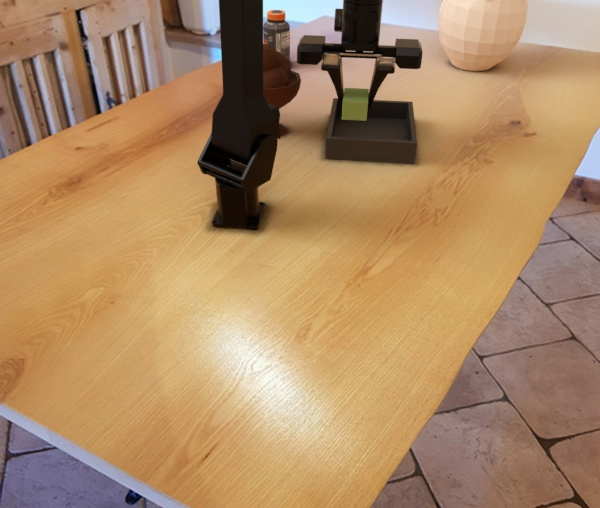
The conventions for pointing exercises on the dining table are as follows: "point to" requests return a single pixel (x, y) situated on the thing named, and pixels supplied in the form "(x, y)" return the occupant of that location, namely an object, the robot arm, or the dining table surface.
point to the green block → (355, 104)
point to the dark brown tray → (373, 134)
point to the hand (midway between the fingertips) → (355, 107)
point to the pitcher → (480, 31)
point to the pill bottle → (277, 32)
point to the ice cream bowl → (278, 79)
